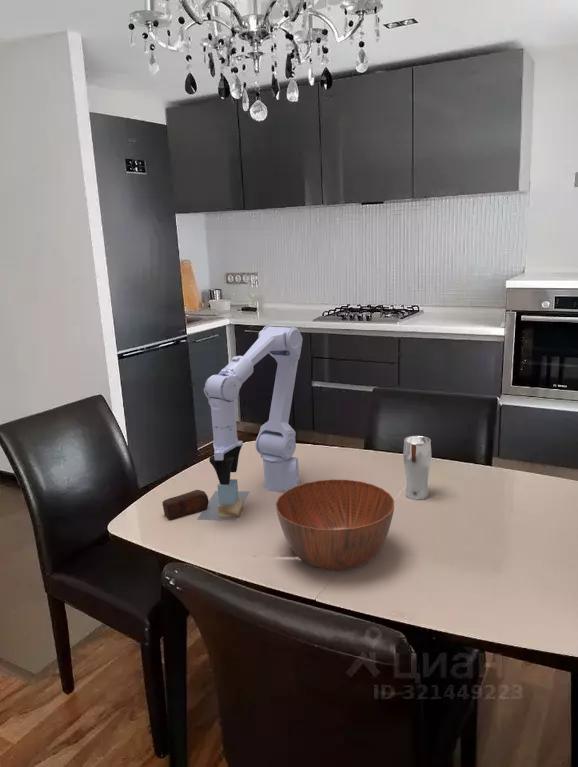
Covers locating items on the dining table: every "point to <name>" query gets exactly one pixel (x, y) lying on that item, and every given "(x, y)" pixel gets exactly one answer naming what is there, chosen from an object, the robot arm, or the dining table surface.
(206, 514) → the board
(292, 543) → the bowl
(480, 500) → the dining table surface
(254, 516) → the dining table surface
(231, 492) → the blue block
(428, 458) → the beer glass
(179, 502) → the brick
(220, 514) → the oak block
